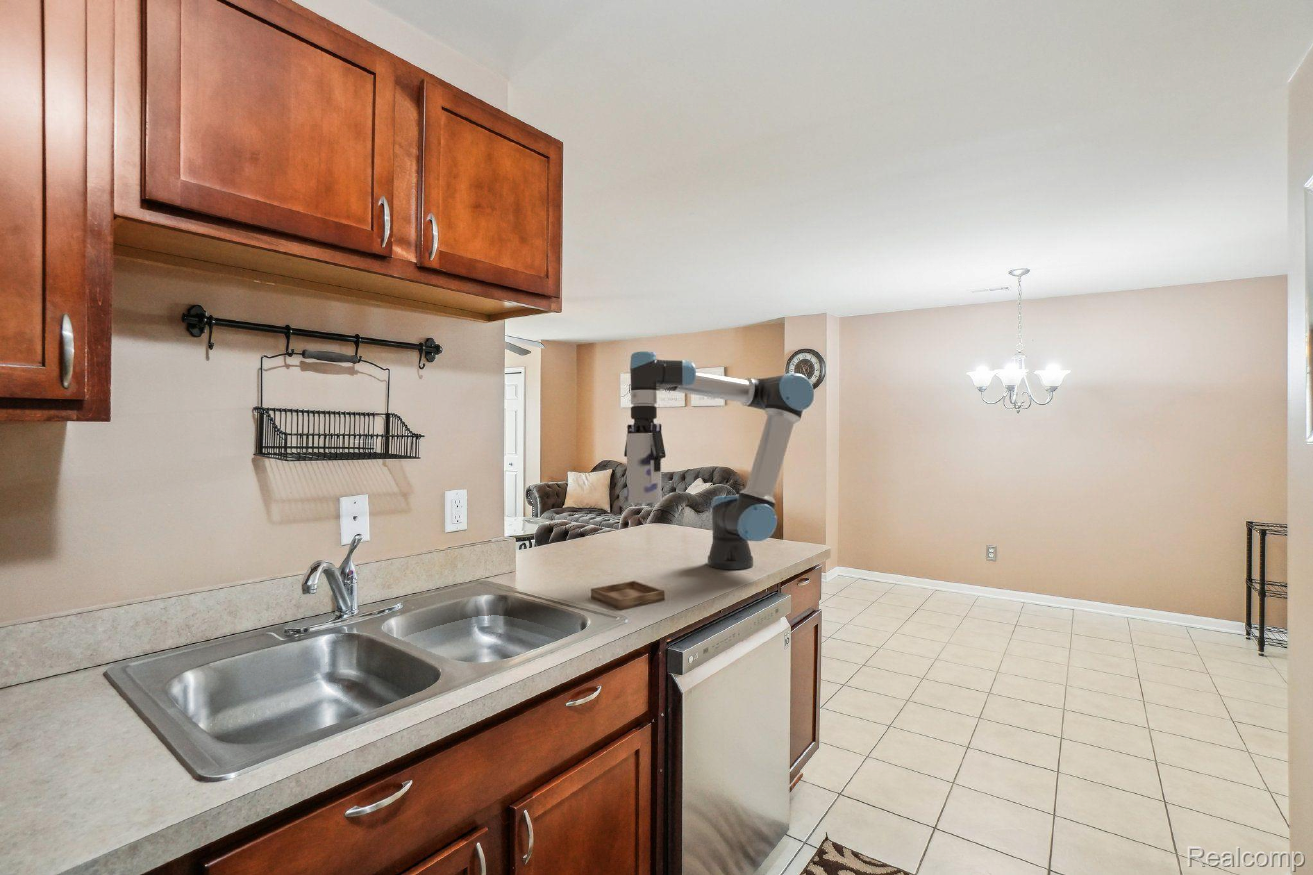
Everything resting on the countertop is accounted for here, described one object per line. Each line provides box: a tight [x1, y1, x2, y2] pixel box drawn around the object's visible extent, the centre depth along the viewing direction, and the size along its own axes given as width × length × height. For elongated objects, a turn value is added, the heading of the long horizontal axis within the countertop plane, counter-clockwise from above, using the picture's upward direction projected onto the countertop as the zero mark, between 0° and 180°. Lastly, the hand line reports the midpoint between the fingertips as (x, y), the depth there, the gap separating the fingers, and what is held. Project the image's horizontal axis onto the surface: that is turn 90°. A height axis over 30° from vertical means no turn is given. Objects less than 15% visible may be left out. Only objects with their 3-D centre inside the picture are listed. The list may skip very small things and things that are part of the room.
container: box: [626, 433, 663, 504], centre depth 173 cm, size 10×10×20 cm
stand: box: [590, 580, 666, 611], centre depth 158 cm, size 14×14×2 cm
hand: (644, 482), depth 173 cm, fingers closed on container, 10 cm apart
